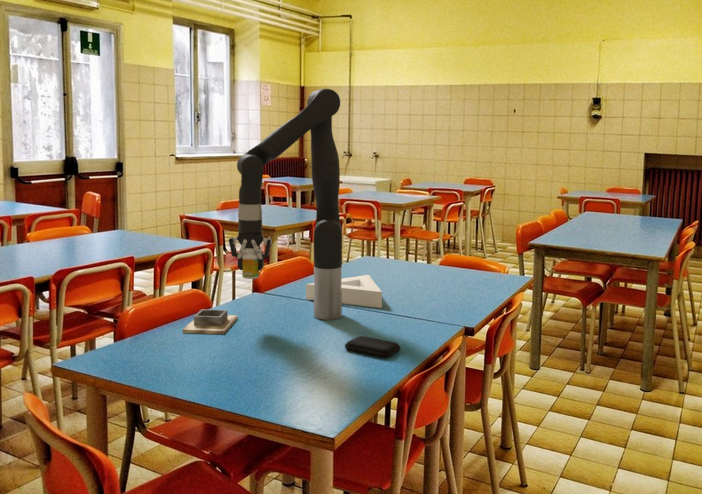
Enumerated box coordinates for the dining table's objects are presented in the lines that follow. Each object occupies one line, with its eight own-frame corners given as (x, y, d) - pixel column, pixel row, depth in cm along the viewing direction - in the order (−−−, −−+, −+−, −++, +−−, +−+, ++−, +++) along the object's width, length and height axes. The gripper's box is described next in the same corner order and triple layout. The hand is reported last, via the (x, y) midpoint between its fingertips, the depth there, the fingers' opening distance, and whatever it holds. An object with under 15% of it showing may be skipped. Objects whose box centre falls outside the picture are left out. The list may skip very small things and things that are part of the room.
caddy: (237, 318, 230) (237, 306, 230) (224, 334, 213) (224, 321, 212) (199, 317, 231) (198, 305, 231) (182, 332, 213) (182, 320, 213)
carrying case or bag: (404, 351, 200) (361, 342, 207) (404, 341, 199) (361, 332, 207) (386, 361, 191) (341, 351, 199) (386, 350, 190) (341, 341, 198)
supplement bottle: (256, 279, 220) (255, 249, 218) (240, 278, 221) (239, 248, 220) (261, 276, 225) (261, 246, 224) (245, 275, 226) (245, 246, 225)
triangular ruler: (305, 300, 258) (306, 284, 257) (333, 286, 282) (333, 271, 281) (381, 309, 247) (382, 292, 246) (403, 294, 271) (404, 278, 270)
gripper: (274, 217, 223) (274, 268, 226) (230, 215, 224) (231, 267, 227) (270, 220, 216) (270, 273, 219) (225, 218, 217) (225, 271, 220)
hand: (250, 269), depth 223 cm, fingers closed on supplement bottle, 5 cm apart
